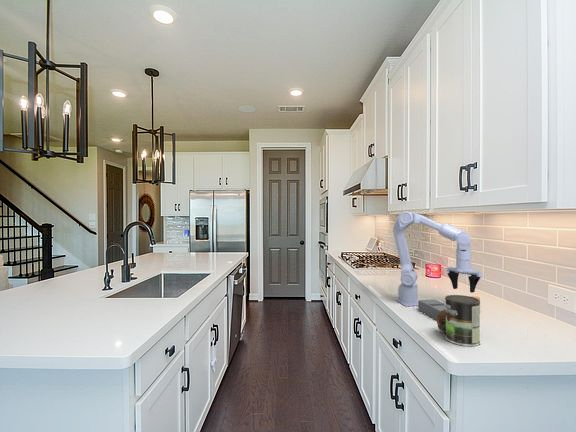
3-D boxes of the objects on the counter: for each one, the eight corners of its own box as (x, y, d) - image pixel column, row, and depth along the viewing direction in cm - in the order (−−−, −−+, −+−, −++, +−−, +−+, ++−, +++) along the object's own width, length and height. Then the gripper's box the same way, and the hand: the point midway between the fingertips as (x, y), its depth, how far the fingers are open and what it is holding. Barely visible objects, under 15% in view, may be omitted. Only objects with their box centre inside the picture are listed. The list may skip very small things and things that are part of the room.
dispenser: (436, 309, 142) (436, 299, 142) (459, 321, 126) (459, 309, 126) (418, 310, 141) (418, 300, 141) (439, 322, 125) (439, 310, 125)
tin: (441, 335, 111) (441, 311, 111) (435, 332, 114) (435, 309, 114) (476, 330, 115) (475, 307, 115) (469, 327, 118) (468, 305, 118)
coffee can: (457, 347, 101) (456, 303, 101) (439, 335, 111) (439, 295, 111) (488, 346, 102) (487, 302, 102) (467, 334, 112) (467, 294, 112)
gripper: (442, 258, 144) (442, 288, 144) (475, 262, 131) (475, 295, 131) (452, 257, 147) (452, 286, 147) (484, 261, 135) (484, 292, 135)
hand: (463, 290), depth 140 cm, fingers open, 7 cm apart
